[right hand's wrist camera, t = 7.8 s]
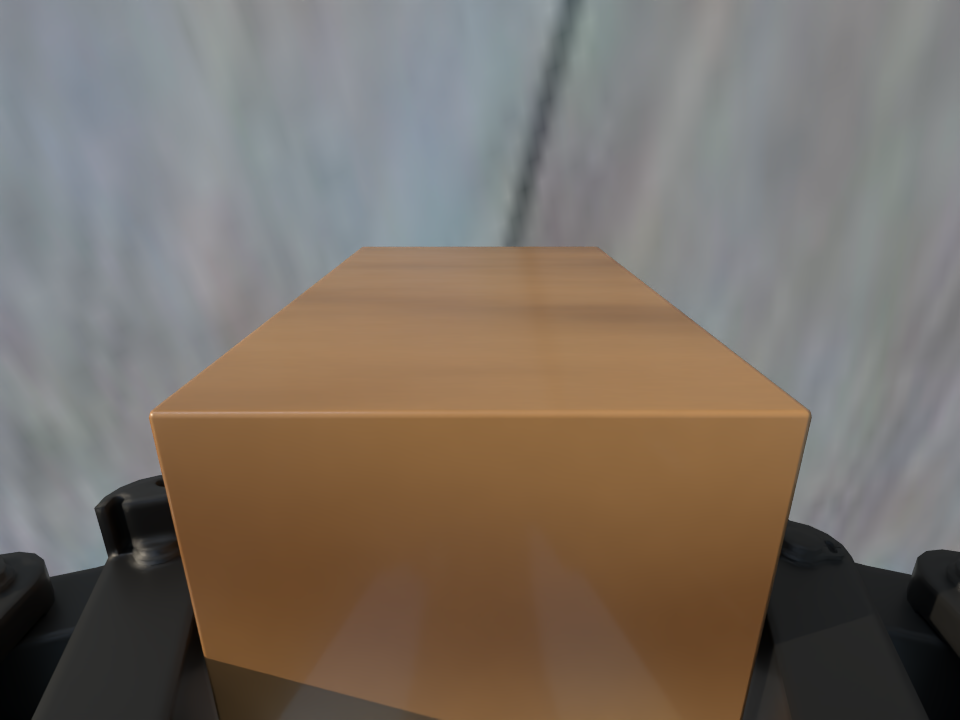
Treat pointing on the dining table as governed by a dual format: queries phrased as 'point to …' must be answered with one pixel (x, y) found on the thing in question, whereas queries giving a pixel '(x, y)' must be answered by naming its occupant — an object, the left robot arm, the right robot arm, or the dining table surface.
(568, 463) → the bar
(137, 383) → the dining table surface
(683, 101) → the dining table surface
